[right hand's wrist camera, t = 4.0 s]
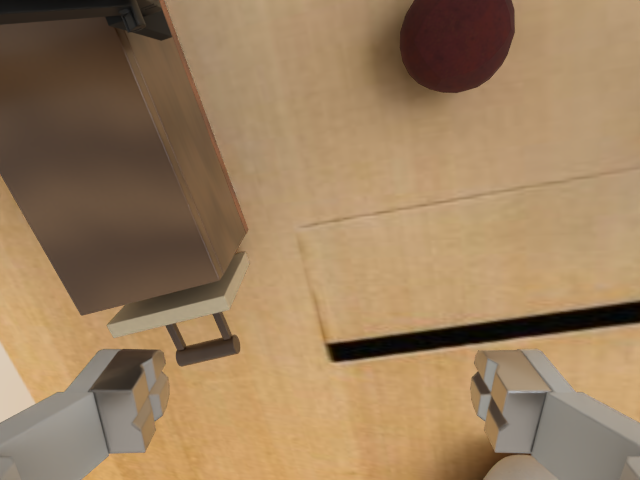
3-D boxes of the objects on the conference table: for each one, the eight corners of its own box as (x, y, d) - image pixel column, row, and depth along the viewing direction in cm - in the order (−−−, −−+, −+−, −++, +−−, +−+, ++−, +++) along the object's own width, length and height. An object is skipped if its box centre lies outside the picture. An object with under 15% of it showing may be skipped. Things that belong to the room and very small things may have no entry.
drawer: (270, 315, 39) (256, 372, 31) (181, 337, 40) (146, 397, 32) (169, 49, 31) (116, 37, 23) (59, 85, 32) (-26, 85, 24)
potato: (373, 35, 31) (385, 22, 24) (460, -42, 29) (499, -79, 22) (428, 113, 33) (453, 121, 26) (512, 46, 31) (563, 36, 24)
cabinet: (248, 229, 37) (220, 281, 27) (142, 258, 38) (80, 316, 28) (159, -12, 30) (81, -56, 20) (34, 32, 31) (-95, 9, 22)
